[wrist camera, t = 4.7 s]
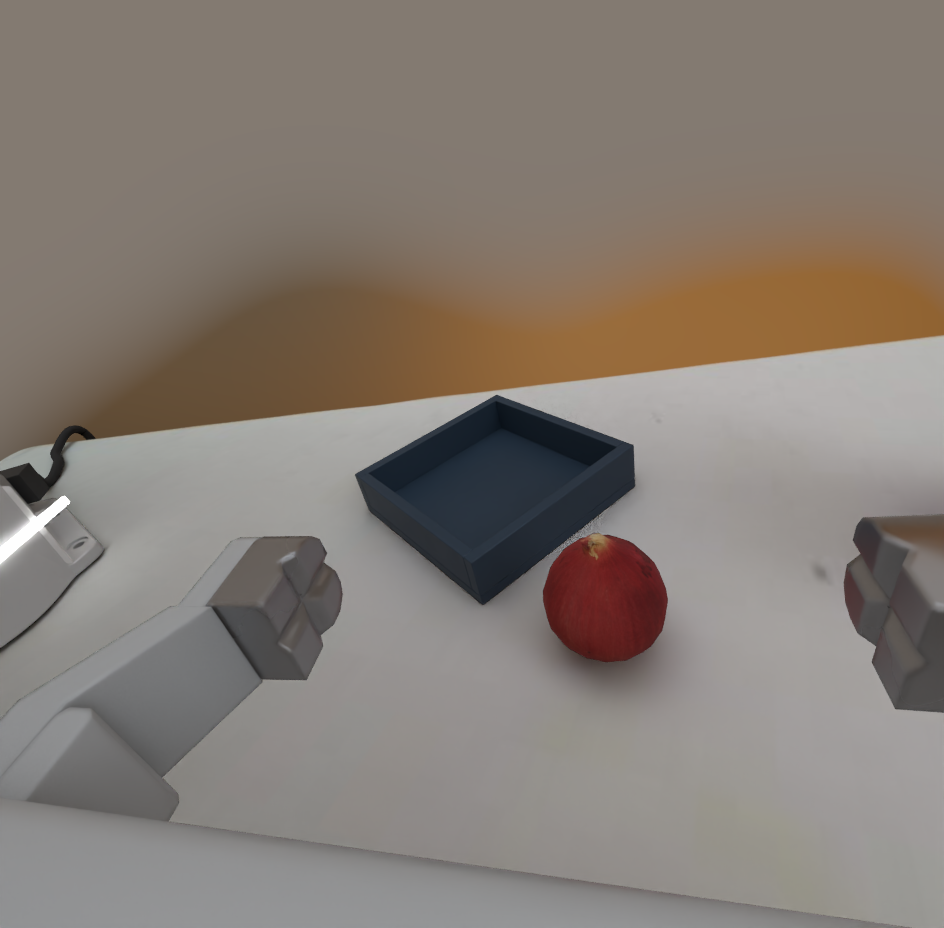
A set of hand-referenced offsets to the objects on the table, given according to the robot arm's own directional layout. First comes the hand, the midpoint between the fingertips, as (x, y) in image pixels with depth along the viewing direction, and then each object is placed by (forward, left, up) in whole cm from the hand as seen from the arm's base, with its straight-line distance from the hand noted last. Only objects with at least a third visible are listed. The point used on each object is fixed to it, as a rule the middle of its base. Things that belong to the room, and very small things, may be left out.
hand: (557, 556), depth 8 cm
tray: (-22, +14, -18) cm, 32 cm away
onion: (-8, +9, -19) cm, 22 cm away
